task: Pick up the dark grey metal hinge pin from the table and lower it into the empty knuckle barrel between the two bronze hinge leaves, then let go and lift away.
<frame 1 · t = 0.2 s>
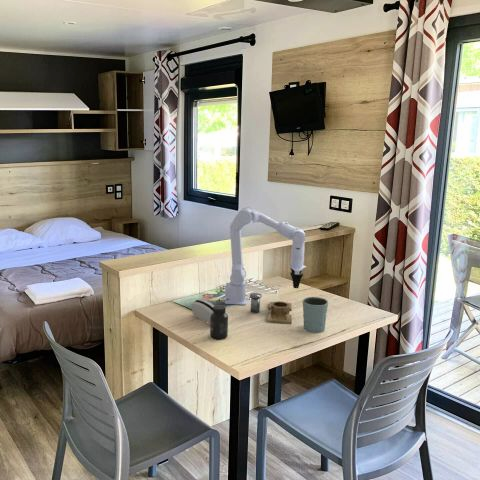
hand: (295, 285, 223), 10 cm above the table, tool pointing down, fingers open, 7 cm apart
teal cup: (313, 329, 200), on the table
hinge: (207, 321, 205), on the table
supplement bottle: (218, 337, 190), on the table
hinge leaves: (280, 313, 216), on the table
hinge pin: (255, 311, 217), on the table
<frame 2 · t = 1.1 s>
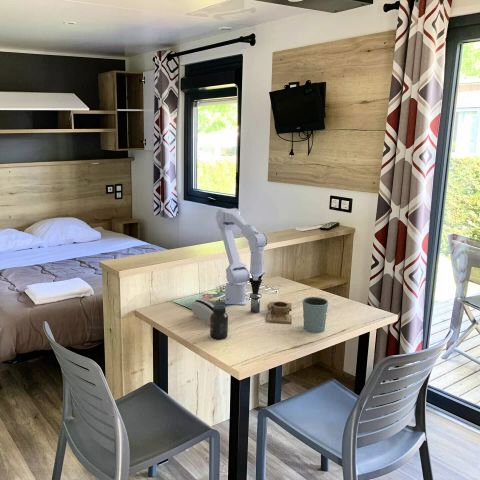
hand: (255, 291, 215), 9 cm above the table, tool pointing down, fingers open, 7 cm apart
nothing on the table moved.
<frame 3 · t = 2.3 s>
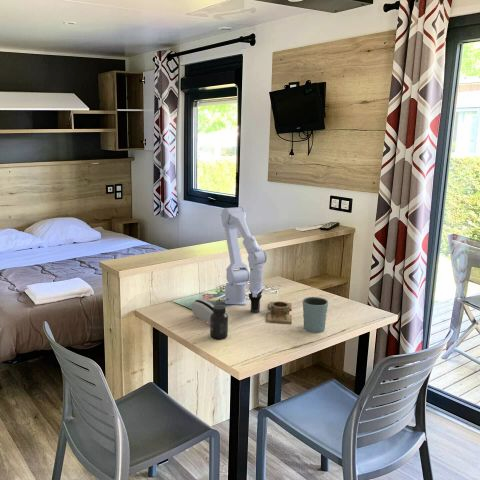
hand: (255, 307, 216), 2 cm above the table, tool pointing down, fingers closed on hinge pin, 5 cm apart
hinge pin: (255, 311, 217), on the table, touching gripper
everything else where it was.
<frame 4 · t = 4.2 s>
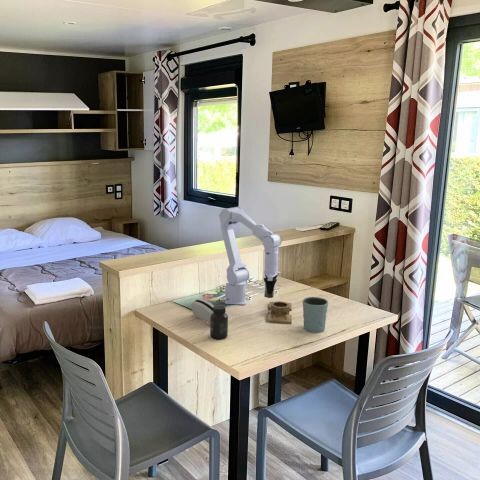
hand: (270, 292, 214), 10 cm above the table, tool pointing down, fingers closed on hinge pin, 5 cm apart
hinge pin: (268, 296, 214), point 8 cm above the table, touching gripper
everything else where it was.
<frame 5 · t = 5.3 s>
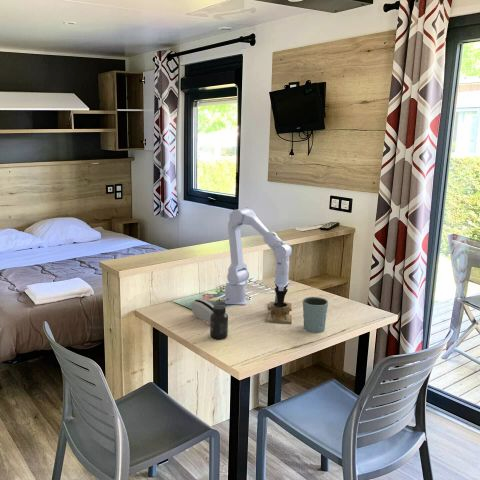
hand: (280, 301, 214), 5 cm above the table, tool pointing down, fingers closed on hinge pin, 5 cm apart
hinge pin: (278, 306, 215), point 3 cm above the table, tilted 5°, touching gripper
everything else where it was.
when the fingers open (5 cm above the table, at t = 5.9 s): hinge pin drops 3 cm, resting in hinge leaves.
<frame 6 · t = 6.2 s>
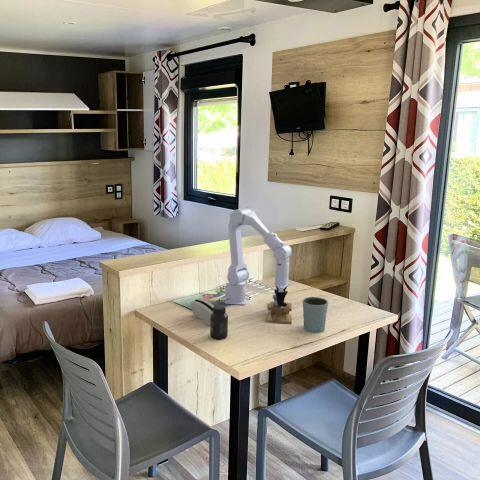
hand: (280, 302, 215), 5 cm above the table, tool pointing down, fingers open, 7 cm apart
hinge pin: (278, 313, 215), resting in hinge leaves
everything else where it was.
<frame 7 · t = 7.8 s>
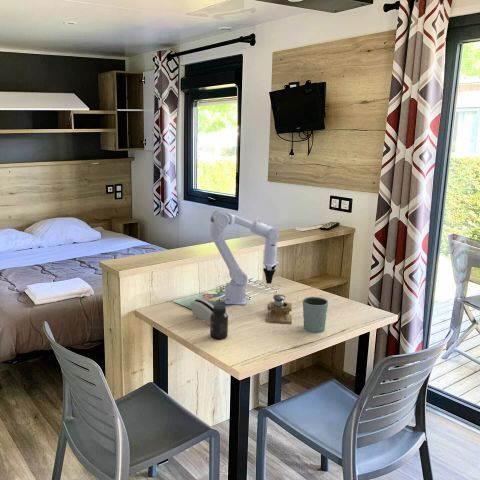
hand: (269, 280, 230), 9 cm above the table, tool pointing down, fingers open, 7 cm apart
nothing on the table moved.
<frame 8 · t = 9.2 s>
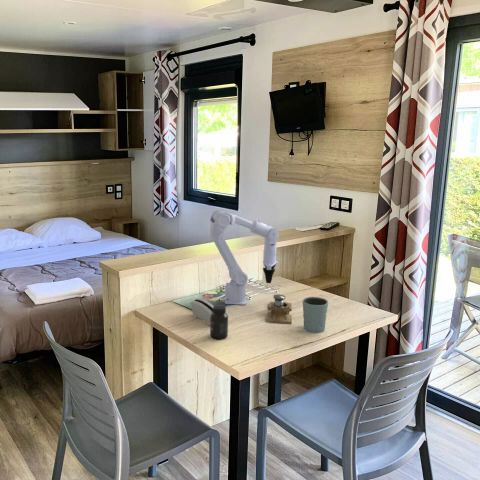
hand: (268, 280, 231), 9 cm above the table, tool pointing down, fingers open, 7 cm apart
nothing on the table moved.
at the end: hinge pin 0.7 cm off-centre on the hinge leaves, point 0.0 cm above the hinge leaves's base; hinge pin tilted 1°; the gripper is holding nothing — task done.
